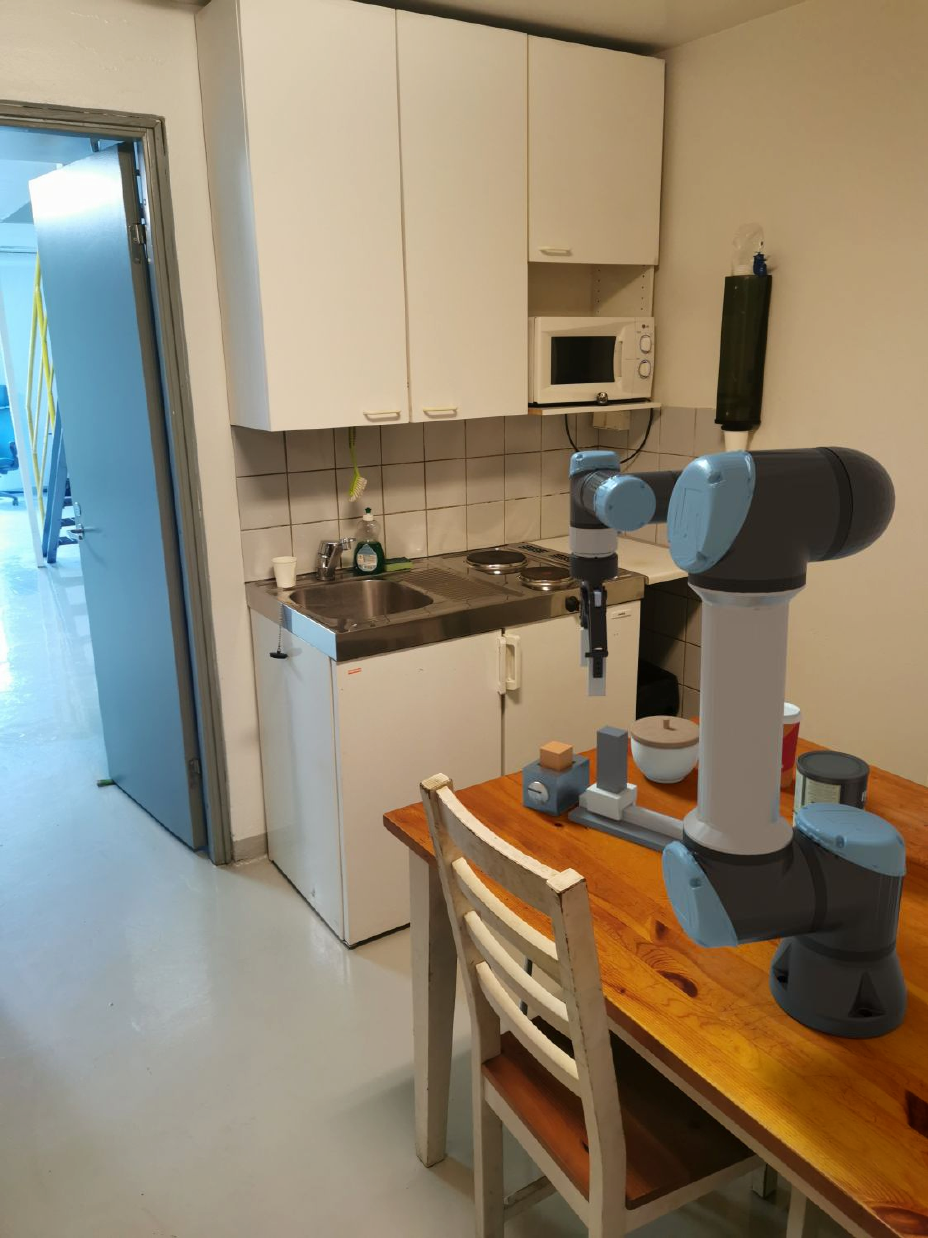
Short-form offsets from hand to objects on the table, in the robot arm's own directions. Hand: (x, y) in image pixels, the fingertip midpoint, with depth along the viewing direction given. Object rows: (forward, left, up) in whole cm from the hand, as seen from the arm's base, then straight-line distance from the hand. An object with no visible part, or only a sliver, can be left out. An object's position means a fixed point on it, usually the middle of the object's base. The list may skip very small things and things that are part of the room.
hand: (592, 680), depth 149 cm
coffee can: (+12, -35, -24) cm, 44 cm away
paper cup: (+29, -20, -24) cm, 42 cm away
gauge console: (0, +7, -24) cm, 24 cm away
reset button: (0, +7, -18) cm, 19 cm away
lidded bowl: (+20, -3, -24) cm, 31 cm away
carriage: (0, -4, -22) cm, 22 cm away
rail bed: (0, -8, -24) cm, 25 cm away
